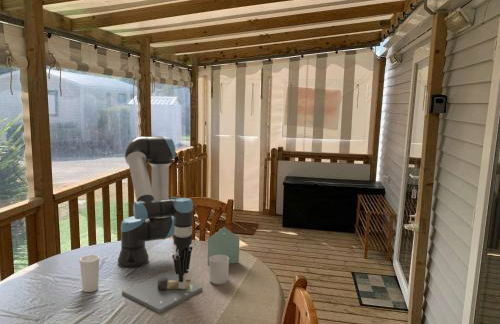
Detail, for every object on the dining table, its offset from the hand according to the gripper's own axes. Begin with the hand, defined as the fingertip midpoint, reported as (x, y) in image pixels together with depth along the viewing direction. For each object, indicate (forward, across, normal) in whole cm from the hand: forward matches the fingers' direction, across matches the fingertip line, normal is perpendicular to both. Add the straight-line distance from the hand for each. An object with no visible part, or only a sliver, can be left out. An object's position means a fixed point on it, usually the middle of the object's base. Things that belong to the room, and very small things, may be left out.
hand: (182, 287), depth 160 cm
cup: (+3, -13, +38) cm, 40 cm away
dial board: (+3, -2, +8) cm, 9 cm away
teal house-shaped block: (+3, +40, 0) cm, 40 cm away
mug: (+3, +20, -8) cm, 22 cm away
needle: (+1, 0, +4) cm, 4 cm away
